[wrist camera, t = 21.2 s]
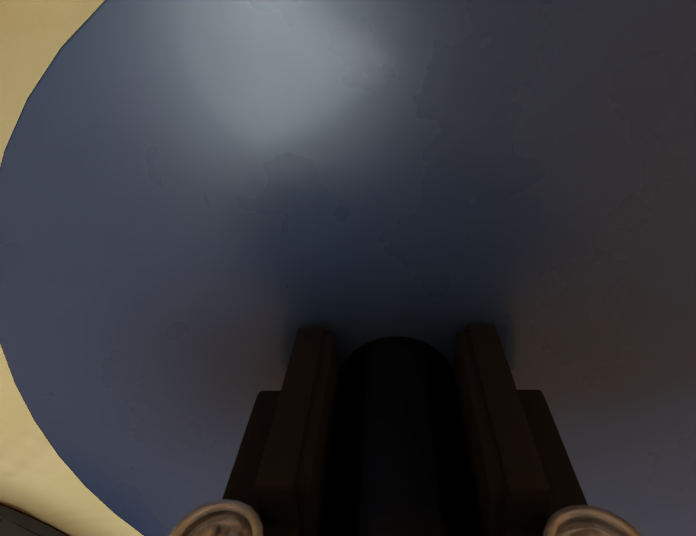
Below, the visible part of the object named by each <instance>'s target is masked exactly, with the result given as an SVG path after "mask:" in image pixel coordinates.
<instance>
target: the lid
mask: <svg viewBox="0 0 696 536" xmlns="http://www.w3.org/2000/svg"><path fill="white" fill-rule="evenodd" d="M467 325H495V326H496V329H497V332H498V335H499V338H500V341H501V344H502V347H503V350H504V353H505V356H506V358H507V361H508V364H509V367H510V370H511V373H512V376H513V379H514V382H515V385H516V388H517V390H540V391H541V392H542V393H543V395H544V397H545V399H546V402H547V404H548V407H549V409H550V412H551V414H552V417H553V419H554V422H555V424H556V427H557V429H558V432H559V434H560V437H561V439H562V442H563V444H564V447H565V449H566V452H567V454H568V457H569V459H570V462H571V464H572V467H573V469H574V472H575V474H576V477H577V479H578V482H579V484H580V487H581V489H582V492H583V494H584V497H585V499H586V502H587V504H588V506H593V507H599V508H602V509H604V510H607V511H609V512H612V513H614V514H617V515H618V516H620V517H621V518H623V519H624V520H626V521H627V522H629V523H630V524H632V525H633V526H634V527H635V528H636V529H637V530H638V531H639V532H640V533H641V534H642V535H643V536H696V0H105V1H104V2H103V3H102V4H101V5H100V6H99V7H98V8H97V9H96V11H95V12H94V13H93V14H92V15H91V16H90V17H89V18H88V19H87V20H86V21H85V22H84V23H83V25H82V26H81V27H80V28H79V29H78V30H77V31H76V32H75V33H74V34H73V35H72V36H71V37H70V38H69V40H68V41H67V42H66V43H65V44H64V45H63V46H62V47H61V49H60V50H59V52H58V53H57V55H56V56H55V58H54V59H53V61H52V62H51V64H50V65H49V67H48V68H47V70H46V71H45V73H44V74H43V76H42V77H41V79H40V80H39V82H38V83H37V85H36V86H35V88H34V90H33V91H32V93H31V94H30V96H29V97H28V99H27V101H26V103H25V106H24V108H23V110H22V112H21V115H20V117H19V119H18V121H17V124H16V126H15V128H14V130H13V133H12V135H11V137H10V140H9V142H8V144H7V146H6V149H5V151H4V155H3V159H2V163H1V167H0V344H1V347H2V349H3V352H4V355H5V357H6V360H7V363H8V366H9V368H10V371H11V374H12V376H13V379H14V382H15V384H16V386H17V388H18V390H19V392H20V394H21V396H22V398H23V400H24V401H25V403H26V405H27V407H28V409H29V411H30V413H31V415H32V417H33V419H34V420H35V422H36V424H37V425H38V426H39V428H40V429H41V431H42V432H43V434H44V435H45V437H46V438H47V439H48V441H49V442H50V444H51V445H52V447H53V448H54V450H55V451H56V452H57V454H58V455H59V457H60V458H61V459H62V460H63V461H64V462H65V463H66V465H67V466H68V467H69V468H70V469H71V470H72V471H73V473H74V474H75V475H76V476H77V477H78V478H79V479H80V481H81V482H82V483H83V484H84V485H85V486H86V487H87V488H88V489H89V490H90V491H91V492H92V493H93V494H94V495H95V496H96V497H98V498H99V499H100V500H101V501H102V502H103V503H104V504H105V505H106V506H107V507H108V508H109V509H110V510H112V511H113V512H114V513H115V514H116V515H117V516H119V517H120V518H121V519H123V520H124V521H125V522H127V523H128V524H129V525H131V526H132V527H133V528H135V529H136V530H137V531H138V532H140V533H141V534H142V535H144V536H169V535H170V533H171V531H172V530H173V528H174V527H175V526H176V525H177V523H178V522H179V521H180V520H181V519H182V518H183V517H184V516H185V515H187V514H188V513H189V512H191V511H192V510H194V509H195V508H196V507H199V506H201V505H203V504H206V503H208V502H211V501H216V500H222V498H223V495H224V492H225V489H226V486H227V483H228V480H229V477H230V474H231V471H232V469H233V466H234V463H235V460H236V457H237V454H238V451H239V448H240V445H241V442H242V439H243V436H244V433H245V430H246V427H247V424H248V421H249V418H250V415H251V412H252V409H253V406H254V403H255V400H256V398H257V395H258V393H259V392H260V391H281V388H282V385H283V381H284V378H285V374H286V370H287V367H288V363H289V360H290V356H291V353H292V349H293V345H294V342H295V338H296V335H297V331H298V329H299V328H305V327H325V328H326V332H327V334H335V335H336V341H337V352H338V364H339V375H340V381H339V389H338V396H337V404H336V412H335V420H334V427H333V435H332V443H331V451H330V458H329V466H328V474H327V482H326V489H325V497H324V505H323V513H322V521H321V528H320V536H483V535H482V530H481V524H480V518H479V513H478V507H477V502H476V496H475V491H474V485H473V479H472V474H471V468H470V463H469V457H468V452H467V446H466V440H465V435H464V429H463V424H462V418H461V413H460V407H459V402H458V396H457V390H456V385H455V379H454V372H455V345H456V333H457V332H466V326H467Z"/></svg>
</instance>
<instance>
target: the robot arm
mask: <svg viewBox="0 0 696 536" xmlns="http://www.w3.org/2000/svg"><path fill="white" fill-rule="evenodd" d="M454 379H455V385H456V390H457V396H458V402H459V407H460V413H461V418H462V424H463V429H464V435H465V440H466V446H467V452H468V457H469V463H470V468H471V474H472V479H473V485H474V491H475V496H476V502H477V507H478V513H479V518H480V524H481V530H482V535H483V536H643V535H642V534H641V533H640V532H639V531H638V530H637V529H636V528H635V527H634V526H633V525H632V524H630V523H629V522H627V521H626V520H624V519H623V518H621V517H620V516H618V515H617V514H614V513H612V512H609V511H607V510H604V509H602V508H599V507H593V506H588V504H587V502H586V499H585V497H584V494H583V492H582V489H581V487H580V484H579V482H578V479H577V477H576V474H575V472H574V469H573V467H572V464H571V462H570V459H569V457H568V454H567V452H566V449H565V447H564V444H563V442H562V439H561V437H560V434H559V432H558V429H557V427H556V424H555V422H554V419H553V417H552V414H551V412H550V409H549V407H548V404H547V402H546V399H545V397H544V395H543V393H542V392H541V391H540V390H517V388H516V385H515V382H514V379H513V376H512V373H511V370H510V367H509V364H508V361H507V358H506V356H505V353H504V350H503V347H502V344H501V341H500V338H499V335H498V332H497V329H496V326H495V325H467V326H466V332H457V333H456V345H455V372H454ZM339 381H340V375H339V364H338V352H337V341H336V335H335V334H327V332H326V328H325V327H305V328H299V329H298V331H297V335H296V338H295V342H294V345H293V349H292V353H291V356H290V360H289V363H288V367H287V370H286V374H285V378H284V381H283V385H282V388H281V391H260V392H259V393H258V395H257V398H256V400H255V403H254V406H253V409H252V412H251V415H250V418H249V421H248V424H247V427H246V430H245V433H244V436H243V439H242V442H241V445H240V448H239V451H238V454H237V457H236V460H235V463H234V466H233V469H232V471H231V474H230V477H229V480H228V483H227V486H226V489H225V492H224V495H223V498H222V500H216V501H211V502H208V503H206V504H203V505H201V506H199V507H196V508H195V509H194V510H192V511H191V512H189V513H188V514H187V515H185V516H184V517H183V518H182V519H181V520H180V521H179V522H178V523H177V525H176V526H175V527H174V528H173V530H172V531H171V533H170V535H169V536H320V528H321V521H322V513H323V505H324V497H325V489H326V482H327V474H328V466H329V458H330V451H331V443H332V435H333V427H334V420H335V412H336V404H337V396H338V389H339Z"/></svg>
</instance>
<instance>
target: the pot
mask: <svg viewBox="0 0 696 536" xmlns="http://www.w3.org/2000/svg"><path fill="white" fill-rule="evenodd" d="M0 536H66V535H64V534H63V533H61V532H59V531H57V530H55V529H53V528H51V527H49V526H47V525H45V524H43V523H41V522H39V521H37V520H35V519H33V518H31V517H29V516H27V515H25V514H22V513H20V512H17V511H15V510H12V509H10V508H7V507H5V506H2V505H0Z"/></svg>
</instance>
